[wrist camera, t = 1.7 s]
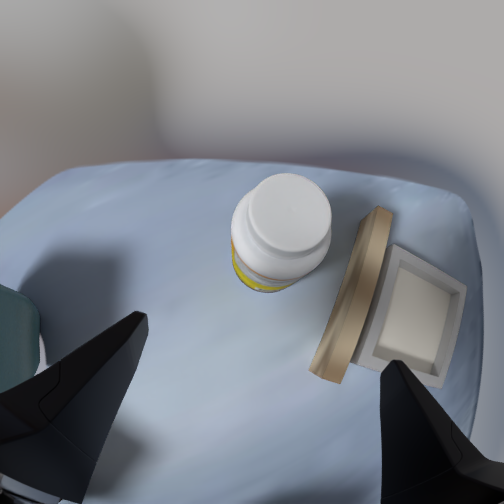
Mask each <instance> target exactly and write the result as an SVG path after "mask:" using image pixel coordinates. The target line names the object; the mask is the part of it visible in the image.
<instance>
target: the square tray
mask: <svg viewBox="0 0 504 504" xmlns="http://www.w3.org/2000/svg"><path fill="white" fill-rule="evenodd" d="M466 291H467V286H466V285H464V284H462V283H461V282H459V281H458V280H456V279H454V278H453V277H451V276H449V275H448V274H446V273H444V272H443V271H441V270H439V269H438V268H436V267H434V266H432V265H431V264H429V263H427V262H426V261H424V260H422V259H420V258H418V257H417V256H415V255H413V254H411V253H409V252H408V251H406V250H404V249H402V248H400V247H398V246H397V245H395V244H393V245H391V246H389V247H387V248H386V249H385V253H384V257H383V261H382V265H381V269H380V272H379V276H378V280H377V283H376V287H375V290H374V293H373V297H372V300H371V303H370V306H369V310H368V313H367V316H366V319H365V322H364V325H363V327H362V330H361V333H360V336H359V339H358V341H357V344H356V347H355V349H354V352H353V355H352V357H351V360H350V363H353V364H356V365H359V366H363V367H366V368H369V369H372V370H375V371H378V372H381V373H382V371H383V370H384V369H385V367H386V366H387V365H388V364H389V363H390V361H391V360H394V359H396V360H402V361H403V362H404V363H405V364H406V365H407V366H408V368H409V369H410V370H411V371H412V372H413V373H414V375H415V376H416V377H417V378H418V379H419V380H420V382H421V383H422V384H423V385H427V386H431V387H435V388H440V389H442V386H443V383H444V380H445V377H446V374H447V371H448V368H449V365H450V362H451V358H452V355H453V351H454V348H455V344H456V340H457V336H458V332H459V328H460V323H461V319H462V314H463V309H464V303H465V298H466Z"/></svg>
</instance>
